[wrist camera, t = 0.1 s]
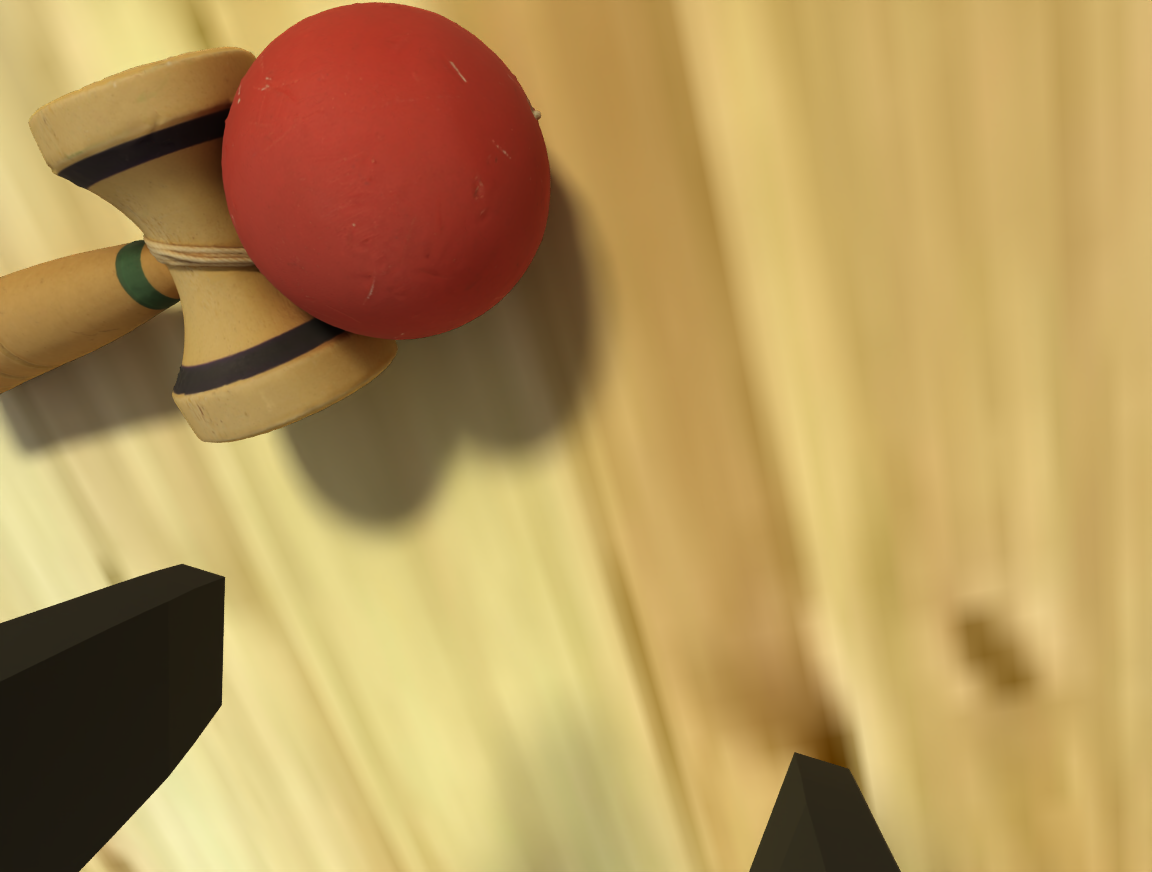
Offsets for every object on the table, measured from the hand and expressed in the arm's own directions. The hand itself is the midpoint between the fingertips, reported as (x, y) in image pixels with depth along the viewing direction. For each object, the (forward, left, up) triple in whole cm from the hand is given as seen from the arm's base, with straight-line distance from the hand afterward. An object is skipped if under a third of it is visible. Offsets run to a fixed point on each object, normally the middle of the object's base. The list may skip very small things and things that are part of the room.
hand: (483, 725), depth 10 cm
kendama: (+2, +10, -10) cm, 15 cm away
